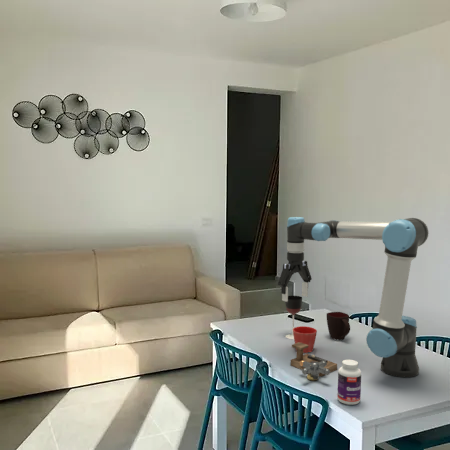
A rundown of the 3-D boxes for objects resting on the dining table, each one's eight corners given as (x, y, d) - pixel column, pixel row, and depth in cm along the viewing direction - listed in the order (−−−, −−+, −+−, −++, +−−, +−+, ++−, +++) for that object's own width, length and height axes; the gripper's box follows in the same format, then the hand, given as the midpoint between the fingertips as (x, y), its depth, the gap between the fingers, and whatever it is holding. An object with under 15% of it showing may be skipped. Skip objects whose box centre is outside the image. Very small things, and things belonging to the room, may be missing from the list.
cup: (339, 334, 259) (340, 311, 258) (356, 342, 246) (357, 318, 245) (323, 336, 255) (323, 313, 254) (339, 345, 242) (339, 320, 241)
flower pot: (316, 355, 229) (316, 334, 228) (291, 353, 231) (292, 332, 230) (316, 347, 239) (317, 327, 238) (293, 345, 241) (293, 325, 240)
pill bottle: (346, 407, 177) (347, 368, 176) (332, 398, 185) (333, 360, 183) (365, 403, 181) (366, 364, 179) (351, 394, 188) (352, 357, 187)
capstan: (340, 379, 201) (340, 363, 200) (317, 389, 191) (318, 373, 191) (311, 368, 211) (311, 353, 211) (288, 378, 202) (288, 362, 201)
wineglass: (304, 337, 253) (305, 298, 251) (291, 340, 249) (292, 300, 246) (294, 333, 260) (294, 294, 258) (281, 336, 255) (281, 297, 253)
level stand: (337, 369, 212) (337, 348, 211) (321, 376, 204) (321, 355, 204) (306, 359, 224) (307, 339, 223) (290, 365, 216) (290, 345, 215)
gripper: (306, 248, 237) (306, 292, 239) (270, 253, 221) (269, 301, 223) (319, 249, 231) (319, 295, 234) (282, 255, 215) (282, 304, 217)
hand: (295, 298), depth 228 cm, fingers open, 13 cm apart
